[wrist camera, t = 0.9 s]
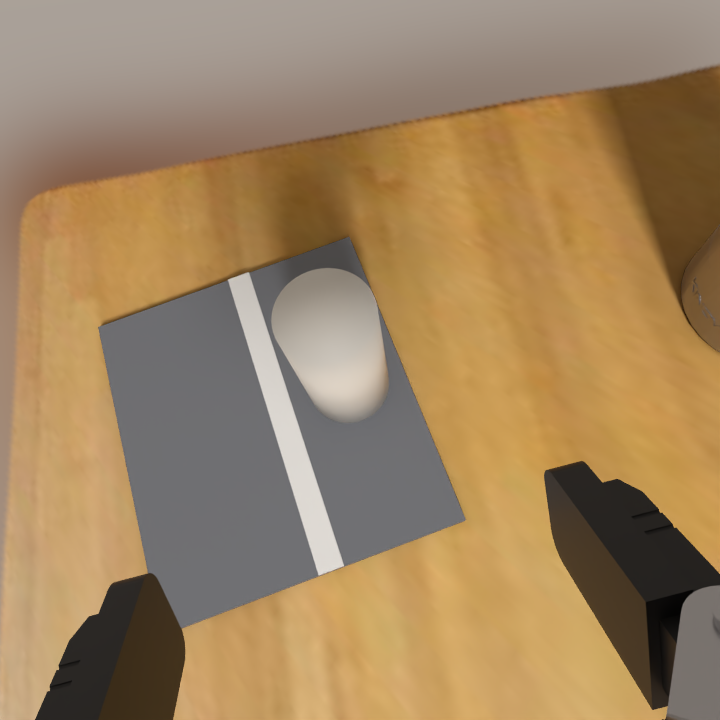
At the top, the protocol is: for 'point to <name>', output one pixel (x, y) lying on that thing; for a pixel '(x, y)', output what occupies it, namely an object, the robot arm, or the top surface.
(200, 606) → the gray striped mat
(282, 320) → the white cylinder
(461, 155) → the top surface
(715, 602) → the robot arm
